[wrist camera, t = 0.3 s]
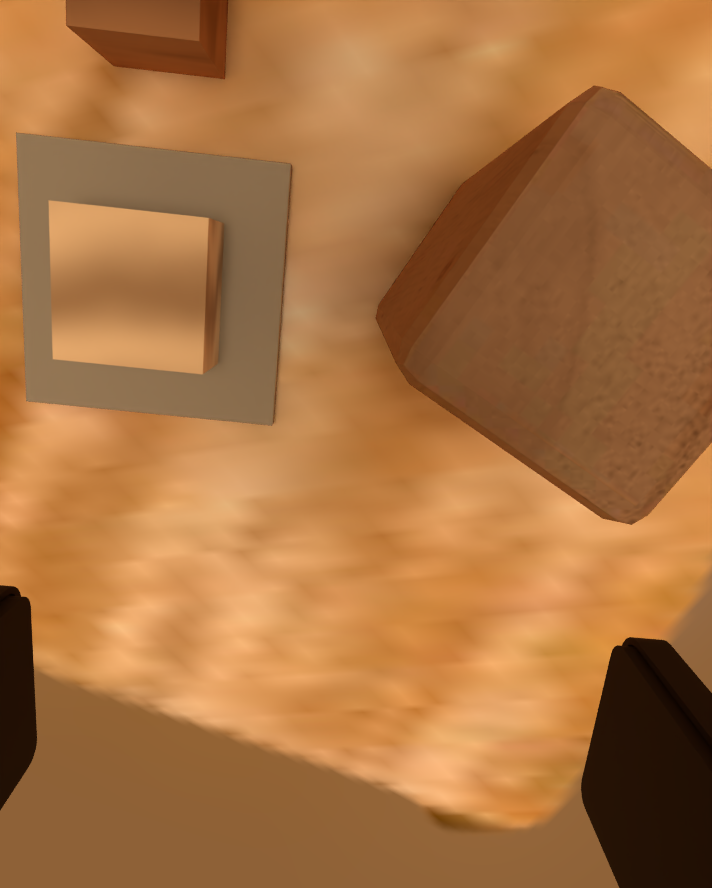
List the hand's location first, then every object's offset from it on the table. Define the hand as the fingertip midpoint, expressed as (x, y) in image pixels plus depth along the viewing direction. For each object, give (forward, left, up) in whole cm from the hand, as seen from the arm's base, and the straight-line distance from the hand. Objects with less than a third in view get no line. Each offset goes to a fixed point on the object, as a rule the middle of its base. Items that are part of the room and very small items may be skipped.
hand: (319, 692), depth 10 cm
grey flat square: (-4, -12, -30) cm, 32 cm away
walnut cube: (-19, -11, -30) cm, 37 cm away
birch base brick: (-4, -12, -29) cm, 32 cm away
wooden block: (-6, +8, -30) cm, 32 cm away
